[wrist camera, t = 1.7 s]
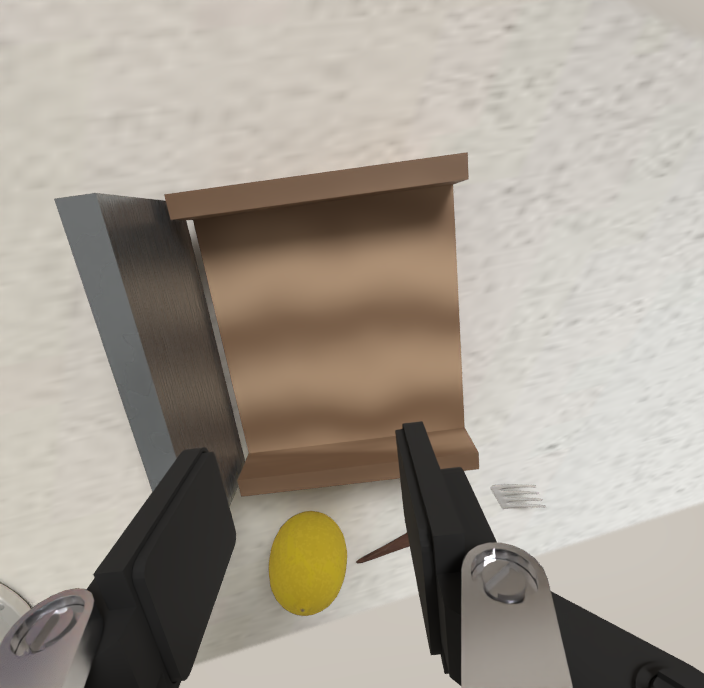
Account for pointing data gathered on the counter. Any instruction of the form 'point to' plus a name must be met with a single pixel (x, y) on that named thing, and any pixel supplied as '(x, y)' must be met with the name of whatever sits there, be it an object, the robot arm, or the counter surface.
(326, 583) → the lemon
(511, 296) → the counter surface
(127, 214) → the panel
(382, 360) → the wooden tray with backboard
